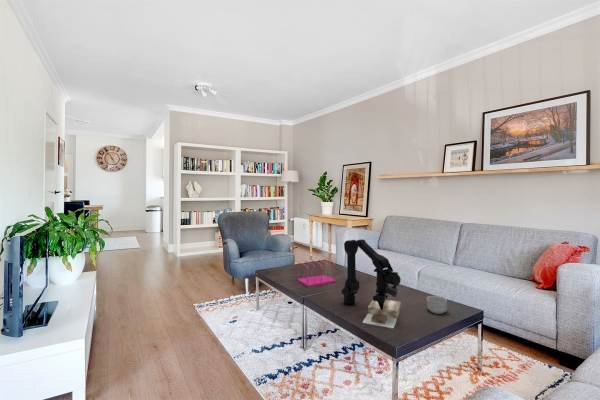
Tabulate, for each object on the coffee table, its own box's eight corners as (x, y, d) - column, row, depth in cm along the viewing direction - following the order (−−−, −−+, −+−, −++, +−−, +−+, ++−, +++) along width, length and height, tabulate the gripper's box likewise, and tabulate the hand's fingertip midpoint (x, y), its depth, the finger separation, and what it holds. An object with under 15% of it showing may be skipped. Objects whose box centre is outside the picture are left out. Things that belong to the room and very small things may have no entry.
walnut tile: (373, 313, 170) (373, 317, 170) (371, 317, 164) (371, 321, 164) (386, 315, 166) (386, 319, 167) (384, 319, 161) (384, 323, 161)
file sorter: (336, 282, 235) (336, 262, 234) (307, 287, 224) (307, 265, 223) (324, 276, 250) (324, 257, 250) (297, 280, 239) (296, 260, 239)
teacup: (440, 317, 170) (440, 303, 170) (422, 311, 179) (422, 297, 178) (453, 311, 178) (453, 297, 178) (435, 305, 187) (435, 292, 187)
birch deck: (367, 313, 175) (367, 306, 175) (373, 304, 189) (373, 298, 189) (397, 318, 168) (397, 311, 168) (400, 308, 182) (400, 301, 182)
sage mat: (362, 322, 163) (362, 322, 163) (367, 313, 175) (367, 313, 175) (393, 328, 156) (393, 328, 156) (397, 318, 168) (397, 318, 168)
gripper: (394, 287, 157) (394, 318, 158) (399, 278, 174) (399, 305, 174) (372, 285, 162) (372, 314, 162) (379, 276, 179) (379, 302, 179)
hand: (381, 309), depth 169 cm, fingers closed
